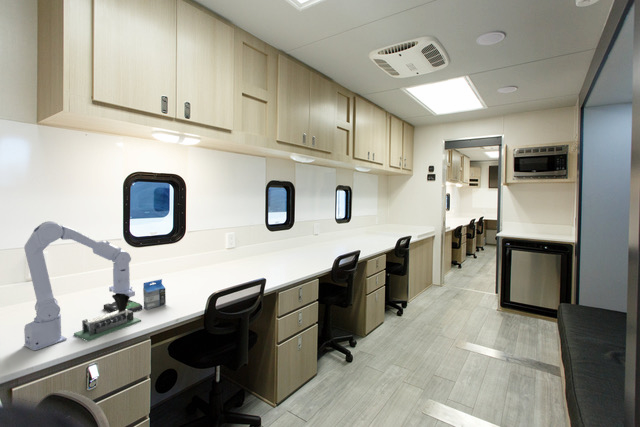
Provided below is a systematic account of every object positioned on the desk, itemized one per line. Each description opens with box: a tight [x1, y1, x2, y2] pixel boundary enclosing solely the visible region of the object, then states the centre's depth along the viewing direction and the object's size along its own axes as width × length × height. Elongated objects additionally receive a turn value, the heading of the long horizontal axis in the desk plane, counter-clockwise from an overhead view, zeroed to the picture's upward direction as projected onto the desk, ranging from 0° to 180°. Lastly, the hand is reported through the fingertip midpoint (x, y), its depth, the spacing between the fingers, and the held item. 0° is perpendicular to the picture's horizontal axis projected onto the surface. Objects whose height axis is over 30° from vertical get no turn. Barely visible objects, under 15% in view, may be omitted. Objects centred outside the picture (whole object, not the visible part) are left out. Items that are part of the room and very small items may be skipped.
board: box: [73, 310, 142, 342], centre depth 121 cm, size 20×10×4 cm, turn 154°
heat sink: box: [81, 314, 127, 336], centre depth 119 cm, size 13×7×5 cm, turn 154°
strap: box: [84, 309, 128, 325], centre depth 120 cm, size 15×3×2 cm, turn 154°
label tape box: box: [142, 278, 167, 310], centre depth 145 cm, size 9×4×12 cm, turn 143°
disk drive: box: [103, 299, 144, 313], centre depth 141 cm, size 10×3×15 cm
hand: (122, 310), depth 125 cm, fingers closed, pressing on strap
